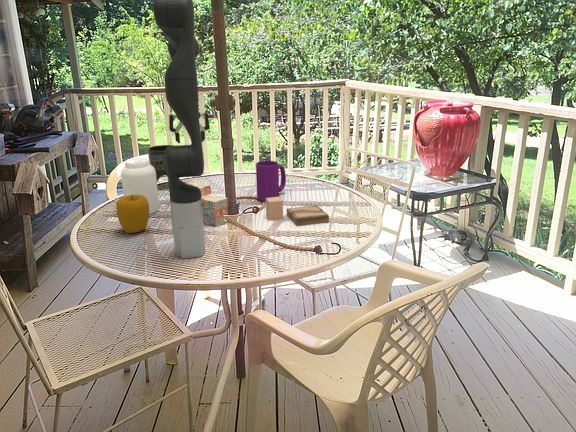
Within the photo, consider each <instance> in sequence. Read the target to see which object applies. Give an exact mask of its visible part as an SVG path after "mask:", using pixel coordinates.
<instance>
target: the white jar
mask: <svg viewBox="0 0 576 432" xmlns="http://www.w3.org/2000/svg"><path fill="white" fill-rule="evenodd" d="M120 177H121V185H122V193H123V197H125V196H129V195H142V196H144V197H146V198H147V200H148V203H149V215H153V214H155V213H157V212H158V211H159V210H160V199H159V188H158V182H157V179H156V171H155V169H154V167H153V166H152V165H150V162H149V158H148V159H147V158H141V157H140V158H139V157H138V158H137V157H136V158H130V159H128V160H125V162H124V167H123V168H122V169H121V173H120Z"/></svg>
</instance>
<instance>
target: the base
mask: <svg viewBox="0 0 576 432" xmlns="http://www.w3.org/2000/svg"><path fill="white" fill-rule="evenodd" d="M286 216H287V217H288V218H289V219H290V221H292V222H293V223H294V225H295V226H296V227H299V226H307V225H316V224H326V223H330V221H329V220H330V216H329V214H328V213H327V212H326V211H324V210H323V208H321V207H320V206H319V205H308V206H300V207H299V206H298V207H297V206H296V207H291V208H289V207H288V208H286Z"/></svg>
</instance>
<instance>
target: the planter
mask: <svg viewBox="0 0 576 432" xmlns="http://www.w3.org/2000/svg"><path fill="white" fill-rule="evenodd" d="M168 146H175V145H174V144H160V145H153V146H150V147H148V148H147V155H148V160H149V163H150V165H152V166H153V167H154V169H155V171H156V179H157V183H158V182H159V180H160V179H161V178H162V177H164V176H166V177H167V178H168V176H167V170H166V164H165V150H166V148H167V147H168Z"/></svg>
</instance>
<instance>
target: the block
mask: <svg viewBox="0 0 576 432" xmlns="http://www.w3.org/2000/svg"><path fill="white" fill-rule="evenodd" d="M283 205H284V202H283V199H282V198H281V197H280V196H279V197H271V198H266V202H265V216H266V218H267V219H268V220H269V221H276V220H277V221H278V220H283V219H284V210H283V209H284V206H283Z"/></svg>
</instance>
